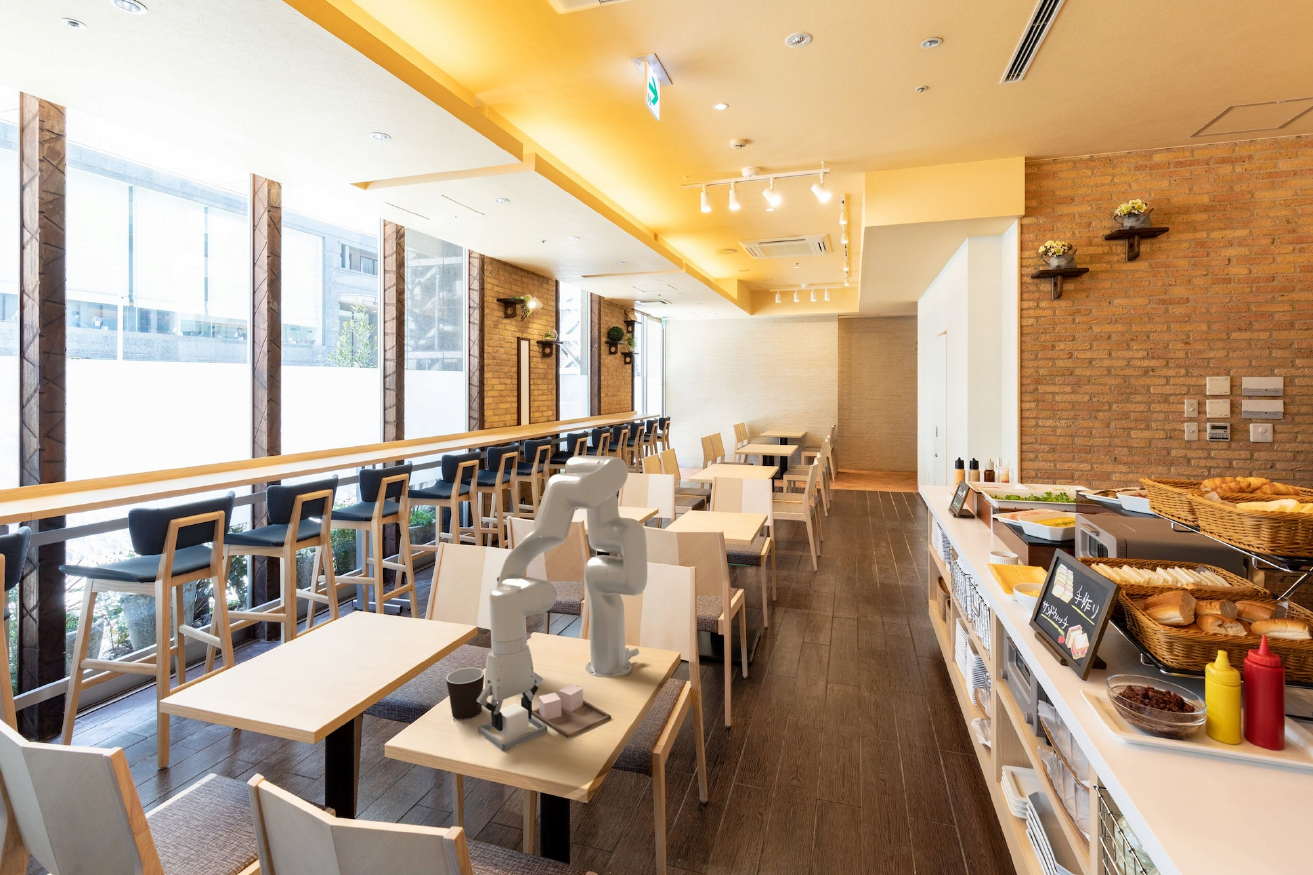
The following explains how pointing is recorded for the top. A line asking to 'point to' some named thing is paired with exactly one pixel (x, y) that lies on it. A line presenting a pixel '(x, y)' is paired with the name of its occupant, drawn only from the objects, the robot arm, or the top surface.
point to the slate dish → (504, 746)
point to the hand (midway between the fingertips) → (512, 722)
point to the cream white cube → (514, 721)
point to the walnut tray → (575, 719)
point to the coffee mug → (465, 692)
